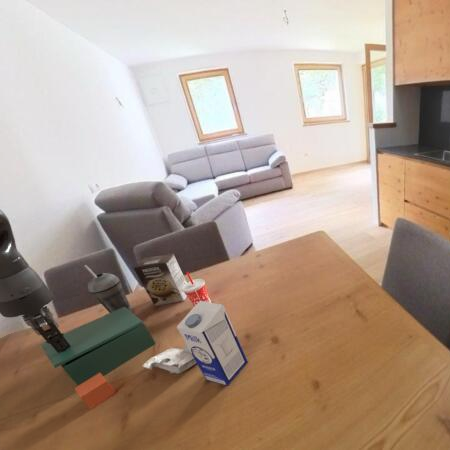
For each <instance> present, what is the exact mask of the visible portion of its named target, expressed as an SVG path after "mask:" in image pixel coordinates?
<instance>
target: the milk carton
mask: <svg viewBox="0 0 450 450" xmlns="http://www.w3.org/2000/svg"><path fill="white" fill-rule="evenodd" d="M176 329H177V331H178V332H179V334H180V336H181V338H182V339H183V341H184V343H185V344H186V345H187V346H188V348H189V350H190V352H191V354H192V355H193V357H194V359H195V361H196V362H197V363H196V364H197V366H198V368H199V370H200V371H201V373H202V375H203V377H204V379H205V380H206V381H209V382H212V383H215V384H220V385H223V386H225V387H226V386H227V387H229V385H230V384H231V383H232V381H233V380H234V379H235V378H236V377H237V376H238V375H239V373H240V372H242V370H243V369H244V368H245V366H247V365H248V363H249V361H248V358H247V356H246V355H245V352H244V350H243V347H242V345H241V343H240V340H239V338H238V336H237V334H236V331H235V328H234V327H233V324H232V322H231V320H230V318H229V316H228V313H227V310H226V308H225V306H224V304H220V303H216V302H212V301H211V302H205V301H200V302H199V303H198V304H197V305H196V306H195V307H194V306H192V308H191V309H190V311H189V312H188V313H187V314H186V315H185V316H184V317H183V319H182V320H181V321H180V322H179V323H178V324H177V326H176Z"/></svg>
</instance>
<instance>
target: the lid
mask: <svg viewBox="0 0 450 450" xmlns="http://www.w3.org/2000/svg"><path fill="white" fill-rule="evenodd" d="M141 324H144V321H142V319H140V318H139V317H138V316H137V315H136V314H134V313H133V312H132V311H131V312H130V311H129V310H128V309H127V308H126V307H122V308H120V309H118V310H116V311H113V312H111V313H109V312H108V313H106V314H105V315H103V316H100V317H98V318H96V319H94V320H91V321H89V322H87V323H84V324H83V325H80V326H78V327H76V328H74V329H73V328H72V329H71V330H69V331H67V332H65V333H63V334H64V335H63V336H64V338H65V339H66V340H67V342H68V343H69V344H70V347H69V348H68V349H66V350H64V351H62V352H59V353H58V352H57V351H56V350H55V349H54V348H53V347H52V345H51V344H48V343H46V342H42V343H40V344H39V345H40V347H41V349H42V350H43V351H44V353H45V355H46V357H47V358H48V360H49V362H50V363H51V364H52V366H53V367H54V369H56V368H59V367H61V365H62V364H64V363H66V362H68V361H70V360H72V359H74V358H76V357H78V356H80V355H82V354H84V353H86V352H88V351H90V350H92V349H94V348H96V347H98V346H100V345H102V344H104V343H106V342H108V341H110V340H112V339H114V338H116V337H118V336H120V335H122V334H124V333H126V332H128V331H130V330H132V329H134V328H136V327H137V326H139V325H141ZM54 334H56V333H53V334H51V335H54ZM51 335H49V336H51ZM49 336H48V337H49Z"/></svg>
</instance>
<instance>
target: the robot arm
mask: <svg viewBox="0 0 450 450" xmlns="http://www.w3.org/2000/svg"><path fill="white" fill-rule="evenodd" d="M53 300H54V294H53V293H52V291H51V290H50V289H49V287H48V286H47V284H46V283H45V282H44V280H43V279H42V278H41V277H40V275H39V274H38V272H37V271H36V270H35V269H33V268H32V266H30V264H29V263H28V262H27V260H26V259H25V258H24V256H23V255H22V254H21V252H20V251H19V250H18V249H17V244H16V239H15V235H14V231H13V229H12V225H11V222H10V220H9V218H8V216H7V215H6V213H5V212H4V211H3V210H2V209H0V315H1V316H2V317H4V318H17V317H21V319H22V320H23V322H24V323H25V325H26V326H27V327H30V328H31V329H32V331H34V333H35V334H36V335H37V336H41V337H42V338H43V339H44V340H45V342H46V343H48V344H51V345H52V347H53V348H54V349H55V350H56V351H57V352H58V353H59V352H62V351H64V350H66V349H68V348H69V347H70V344H69V343H68V342H67V340H66V339H65V338H64V336H63V335H64V333H63V332H61V330H60V329H59V327H60V323H58V320H56V318H55V317H54V313H53V312H52V311H51V310H50V308H49V307H48V306H47V305H48V304H50V303H52V301H53ZM53 333H56V334H54V335H51V334H53ZM49 335H51V336H49ZM48 336H49V337H48Z"/></svg>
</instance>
